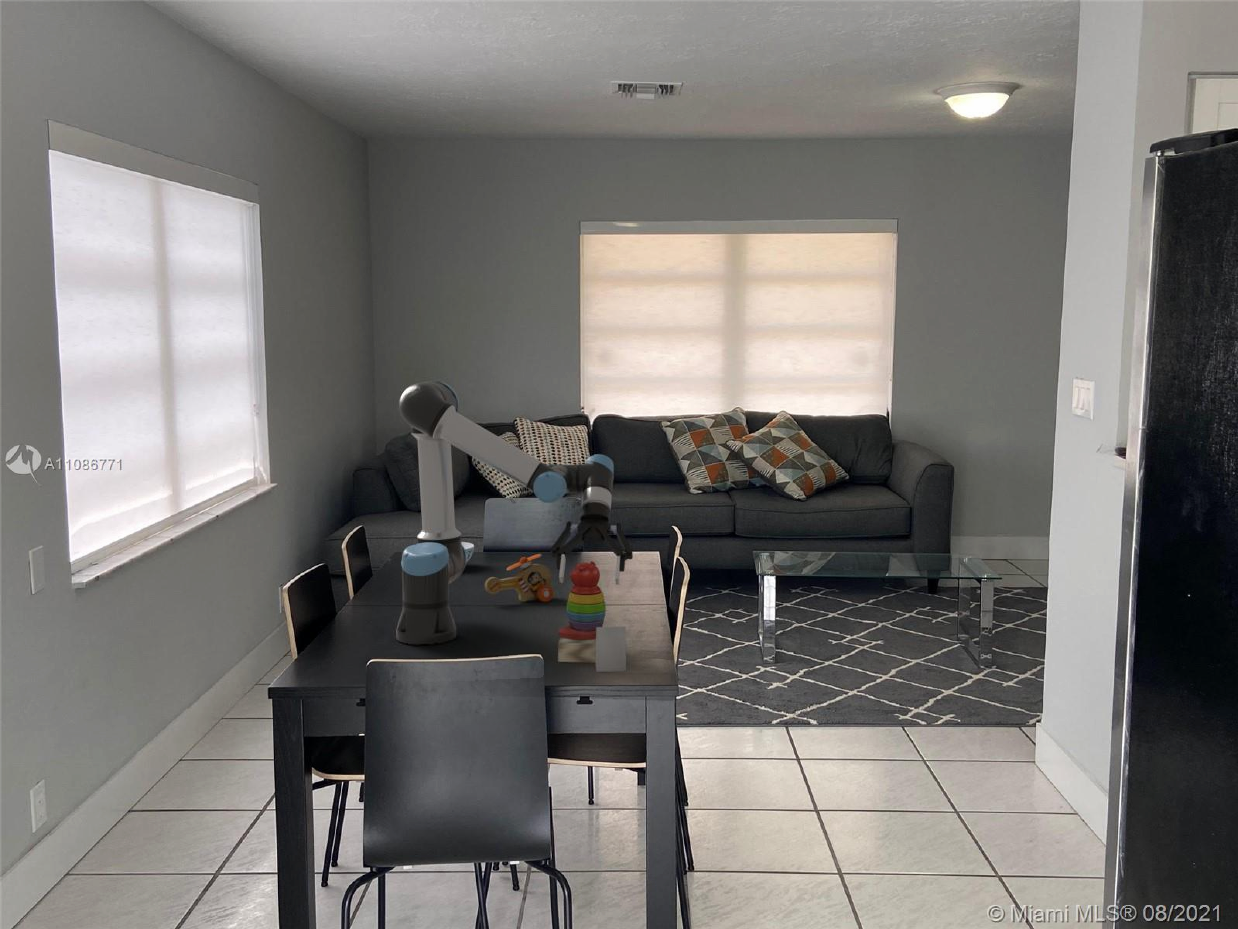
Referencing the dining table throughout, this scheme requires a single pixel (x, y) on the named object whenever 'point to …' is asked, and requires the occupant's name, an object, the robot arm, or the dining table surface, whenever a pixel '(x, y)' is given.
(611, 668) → the white printed cardboard box
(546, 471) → the robot arm
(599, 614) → the stacking bear
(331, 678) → the dining table surface
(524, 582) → the toy helicopter
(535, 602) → the dining table surface
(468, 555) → the chinaware
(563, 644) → the base block
